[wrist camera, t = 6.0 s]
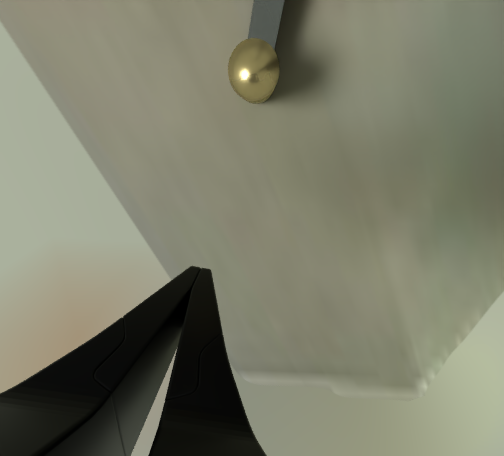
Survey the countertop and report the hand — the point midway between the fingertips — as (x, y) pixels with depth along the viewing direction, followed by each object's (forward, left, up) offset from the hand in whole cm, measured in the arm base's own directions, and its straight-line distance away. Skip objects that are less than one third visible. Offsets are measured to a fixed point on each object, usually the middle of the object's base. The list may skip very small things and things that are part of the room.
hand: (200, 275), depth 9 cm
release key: (0, -11, -13) cm, 17 cm away
